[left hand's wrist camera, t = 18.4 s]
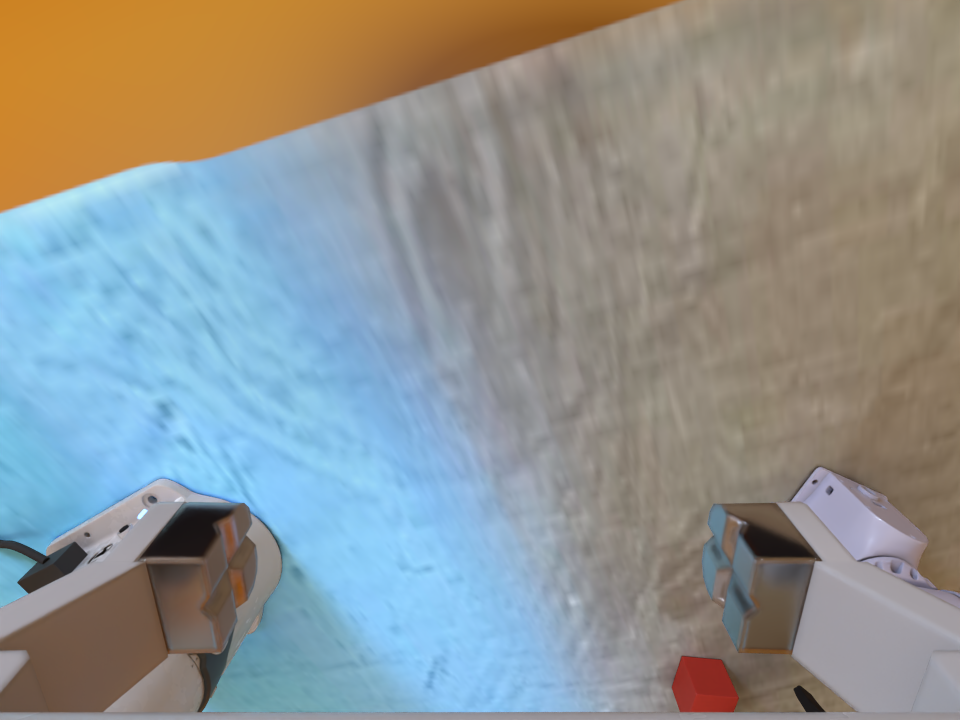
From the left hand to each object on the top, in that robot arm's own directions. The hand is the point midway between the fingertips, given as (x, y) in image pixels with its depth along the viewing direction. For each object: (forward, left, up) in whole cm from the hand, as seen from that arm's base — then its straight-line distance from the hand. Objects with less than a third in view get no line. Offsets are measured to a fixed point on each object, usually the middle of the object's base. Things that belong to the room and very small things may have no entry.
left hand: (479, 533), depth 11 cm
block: (+6, -53, -39) cm, 66 cm away
